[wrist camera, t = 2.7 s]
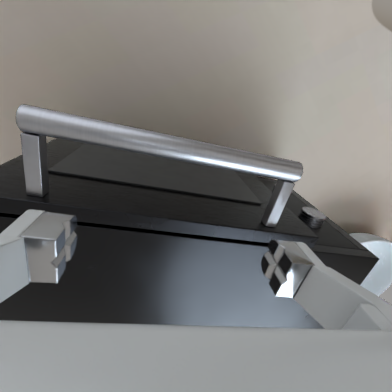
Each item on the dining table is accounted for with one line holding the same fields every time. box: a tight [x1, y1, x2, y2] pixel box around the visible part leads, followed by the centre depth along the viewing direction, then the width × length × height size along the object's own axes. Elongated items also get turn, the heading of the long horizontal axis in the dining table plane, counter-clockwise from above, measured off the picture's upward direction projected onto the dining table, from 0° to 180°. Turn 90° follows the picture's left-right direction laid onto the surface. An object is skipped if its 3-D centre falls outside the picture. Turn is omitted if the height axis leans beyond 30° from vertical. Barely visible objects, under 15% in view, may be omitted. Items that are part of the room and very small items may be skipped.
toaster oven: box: [0, 176, 379, 329], centre depth 32 cm, size 29×36×22 cm
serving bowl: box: [349, 233, 392, 296], centre depth 49 cm, size 21×21×7 cm
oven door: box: [0, 104, 319, 248], centre depth 24 cm, size 7×27×20 cm, turn 77°
